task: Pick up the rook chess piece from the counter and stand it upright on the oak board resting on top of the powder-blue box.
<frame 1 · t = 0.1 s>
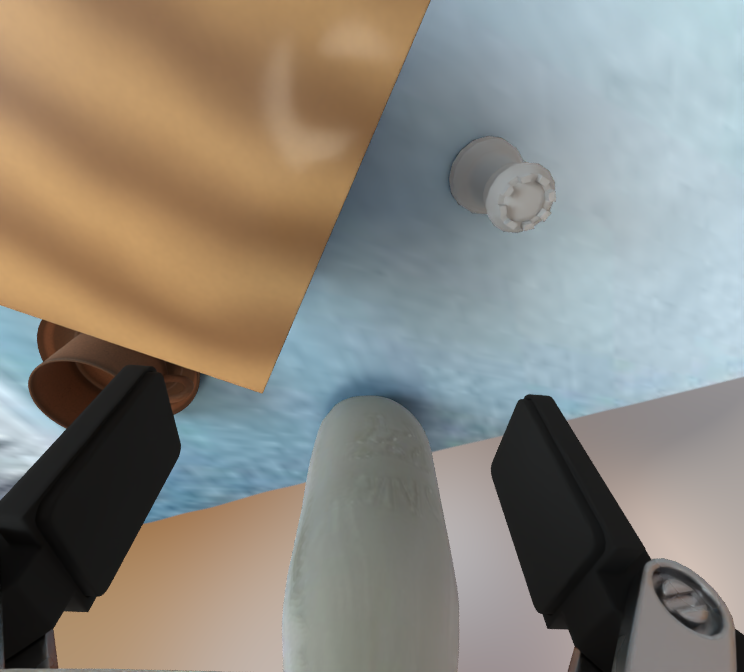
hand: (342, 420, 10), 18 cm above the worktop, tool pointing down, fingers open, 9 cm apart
board: (168, 168, 15), resting on blue box
rook chess piece: (481, 174, 24), on the worktop
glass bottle: (369, 413, 35), on the worktop
cup and saucer: (135, 350, 31), on the worktop
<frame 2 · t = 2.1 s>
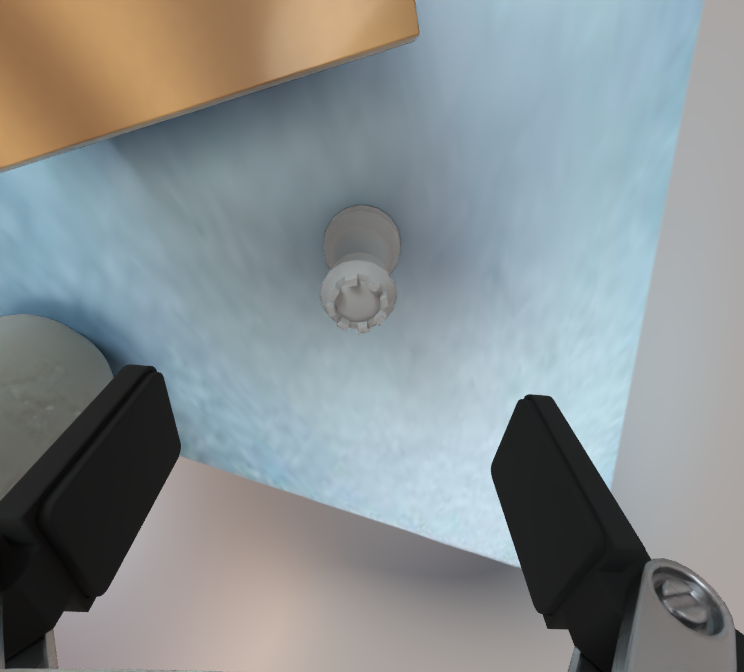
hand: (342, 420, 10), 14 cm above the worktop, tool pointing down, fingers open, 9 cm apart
rook chess piece: (362, 240, 22), on the worktop
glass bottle: (69, 350, 26), on the worktop
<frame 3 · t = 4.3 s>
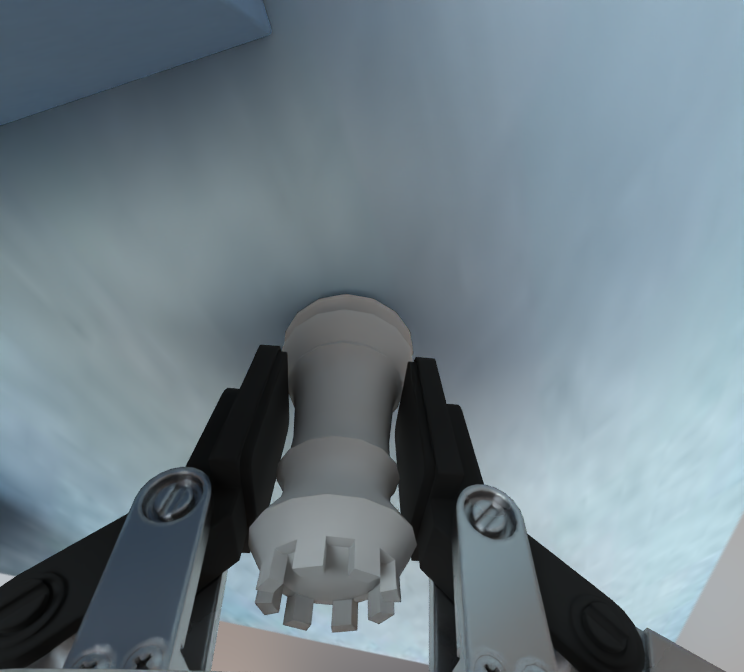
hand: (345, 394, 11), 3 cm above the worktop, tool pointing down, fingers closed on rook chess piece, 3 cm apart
rook chess piece: (349, 341, 13), on the worktop, touching gripper
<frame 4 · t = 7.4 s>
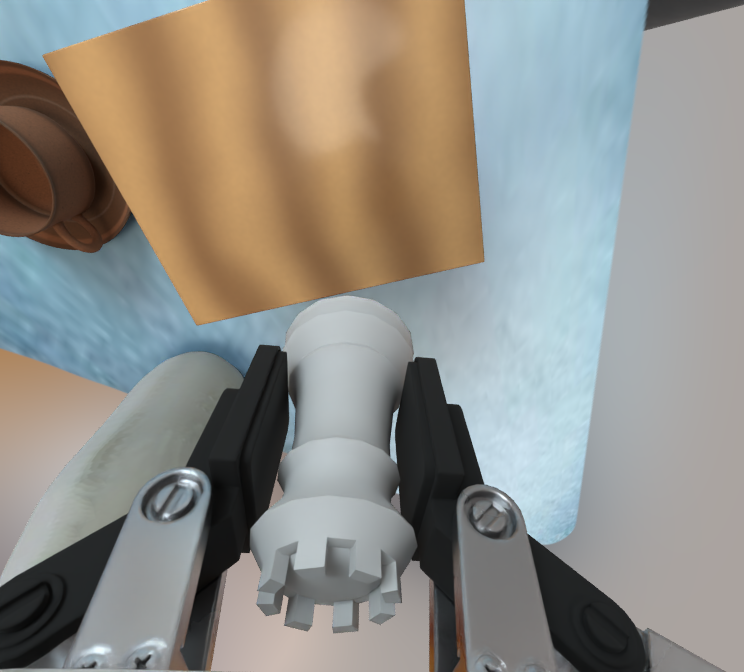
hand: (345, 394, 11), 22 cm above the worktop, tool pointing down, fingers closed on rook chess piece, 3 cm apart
board: (298, 169, 20), resting on blue box
rook chess piece: (350, 342, 13), point 19 cm above the worktop, touching gripper
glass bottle: (212, 372, 38), on the worktop
cup and saucer: (61, 162, 28), on the worktop
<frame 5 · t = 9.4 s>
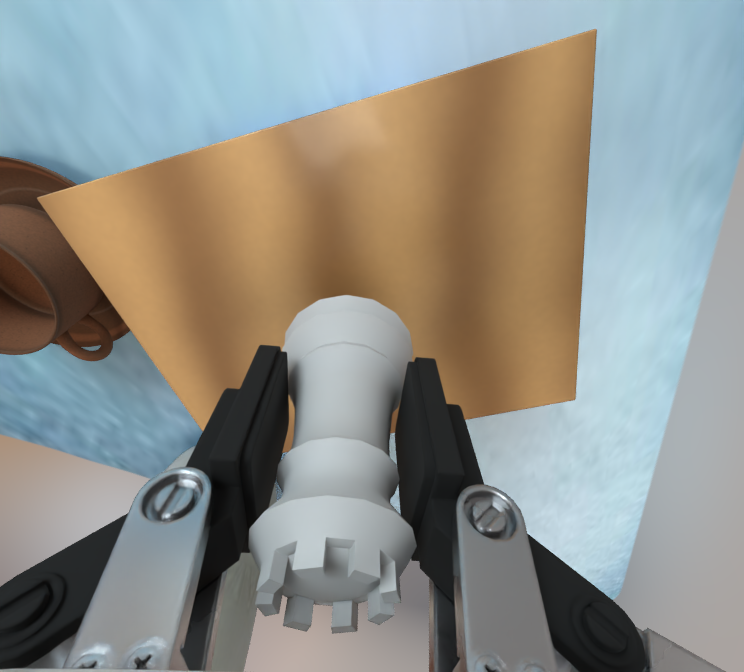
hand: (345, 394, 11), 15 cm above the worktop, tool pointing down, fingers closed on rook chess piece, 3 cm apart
board: (352, 302, 16), resting on blue box
rook chess piece: (349, 342, 13), point 12 cm above the worktop, touching gripper
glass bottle: (233, 455, 35), on the worktop
cup and saucer: (64, 253, 24), on the worktop
when the fingers open (13 cm above the worktop, at t = 10.4 s): rook chess piece stays where it is, resting on board.
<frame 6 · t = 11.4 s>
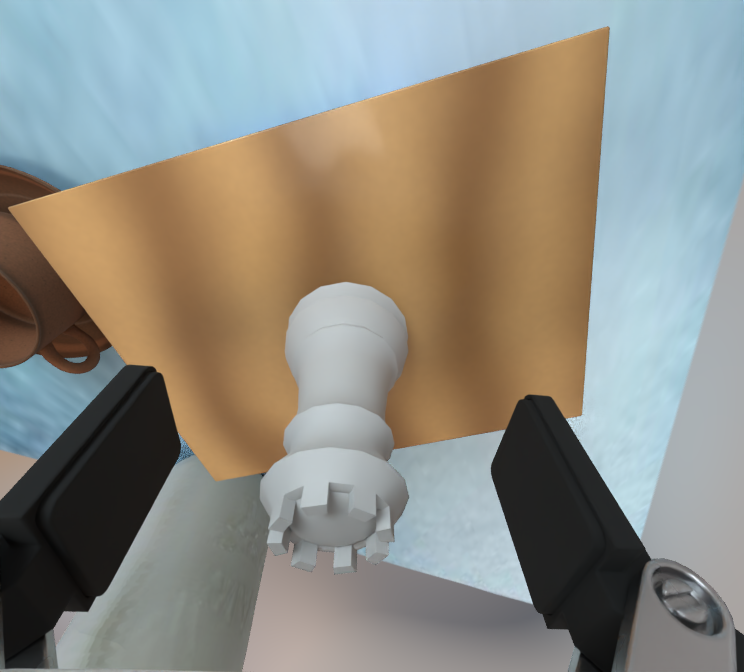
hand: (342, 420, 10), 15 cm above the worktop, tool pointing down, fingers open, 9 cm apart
board: (347, 315, 15), resting on blue box
rook chess piece: (348, 328, 14), point 10 cm above the worktop, touching board
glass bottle: (227, 466, 34), on the worktop
cup and saucer: (49, 260, 23), on the worktop
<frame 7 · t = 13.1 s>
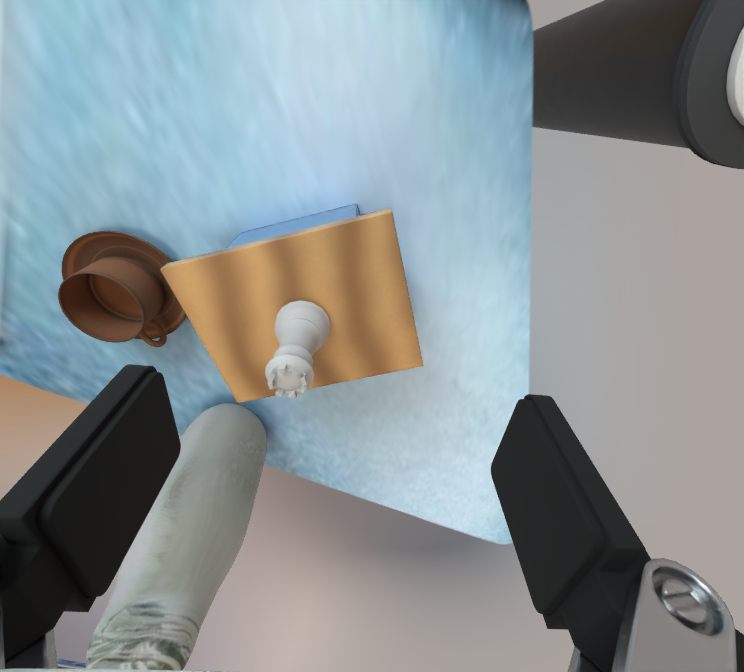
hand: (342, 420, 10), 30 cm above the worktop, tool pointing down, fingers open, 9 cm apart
board: (305, 314, 32), resting on blue box
blue box: (316, 273, 39), on the worktop
rook chess piece: (304, 320, 31), point 10 cm above the worktop, touching board
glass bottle: (236, 416, 50), on the worktop
cup and saucer: (137, 281, 40), on the worktop
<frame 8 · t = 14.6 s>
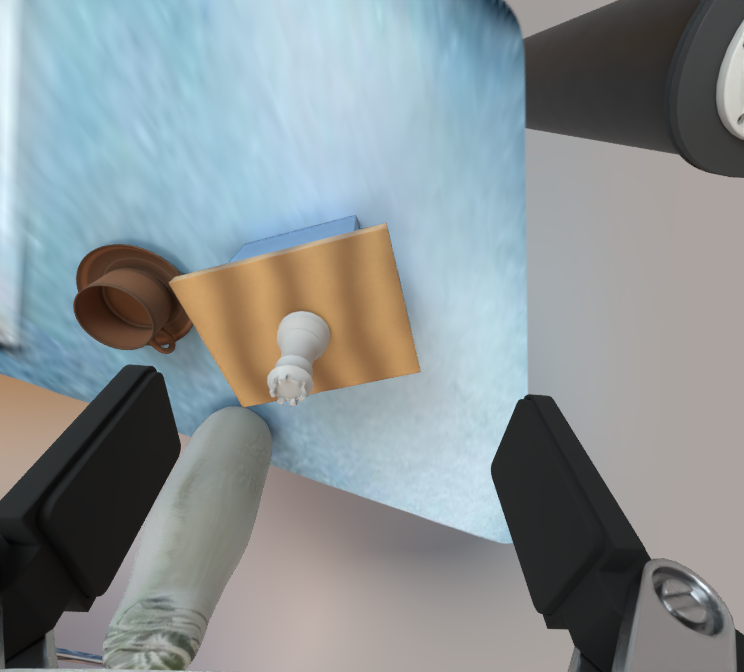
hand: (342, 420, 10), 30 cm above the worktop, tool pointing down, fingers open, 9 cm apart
board: (306, 323, 33), resting on blue box
blue box: (318, 282, 41), on the worktop
rook chess piece: (305, 329, 32), point 10 cm above the worktop, touching board
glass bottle: (243, 418, 52), on the worktop
cup and saucer: (147, 290, 41), on the worktop
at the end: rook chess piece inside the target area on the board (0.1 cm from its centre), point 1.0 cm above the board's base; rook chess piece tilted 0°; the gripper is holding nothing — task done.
